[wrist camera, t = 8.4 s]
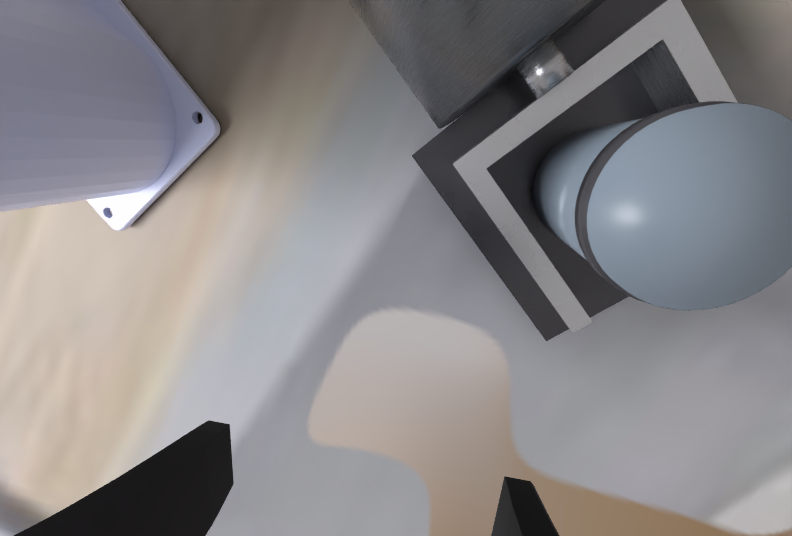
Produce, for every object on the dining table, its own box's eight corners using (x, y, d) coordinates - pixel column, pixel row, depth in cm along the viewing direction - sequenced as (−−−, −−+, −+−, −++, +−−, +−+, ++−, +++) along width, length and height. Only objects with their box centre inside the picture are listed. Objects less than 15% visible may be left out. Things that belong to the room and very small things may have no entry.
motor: (275, -36, 15) (131, -180, 8) (496, -287, 12) (543, -825, 5) (542, 332, 18) (592, 442, 11) (774, 204, 15) (1030, 251, 8)
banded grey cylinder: (544, 259, 16) (609, 334, 9) (517, 148, 15) (570, 143, 8) (665, 227, 15) (838, 285, 8) (646, 106, 14) (825, 60, 7)
